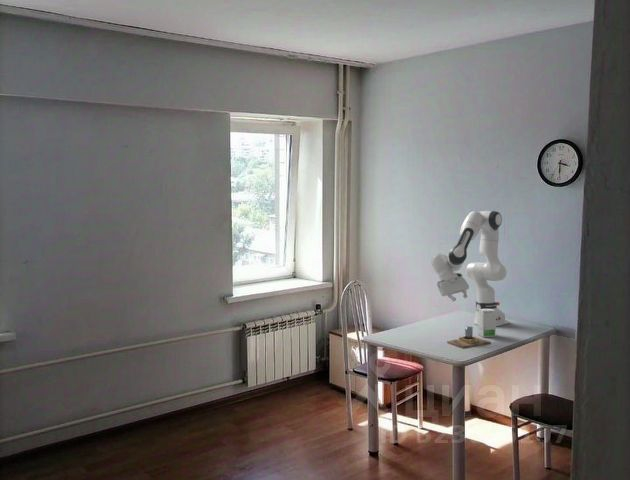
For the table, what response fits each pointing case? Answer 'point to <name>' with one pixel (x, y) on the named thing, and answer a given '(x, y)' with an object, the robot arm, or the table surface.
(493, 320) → the skincare box
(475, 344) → the collar board
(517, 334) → the table surface
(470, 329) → the cylinder
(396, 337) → the table surface
